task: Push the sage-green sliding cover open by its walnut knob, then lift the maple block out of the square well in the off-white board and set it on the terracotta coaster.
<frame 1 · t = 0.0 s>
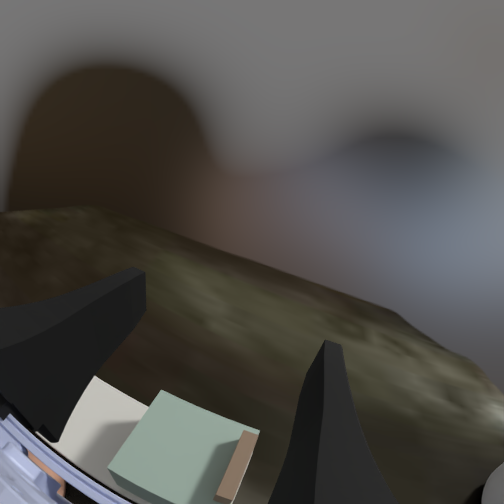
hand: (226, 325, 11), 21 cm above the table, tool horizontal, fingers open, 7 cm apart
coaster: (32, 480, 15), on the table
cover: (186, 459, 20), point 5 cm above the table, slide at 0.0 cm
spread jar: (500, 498, 18), on the table
board: (136, 451, 23), on the table
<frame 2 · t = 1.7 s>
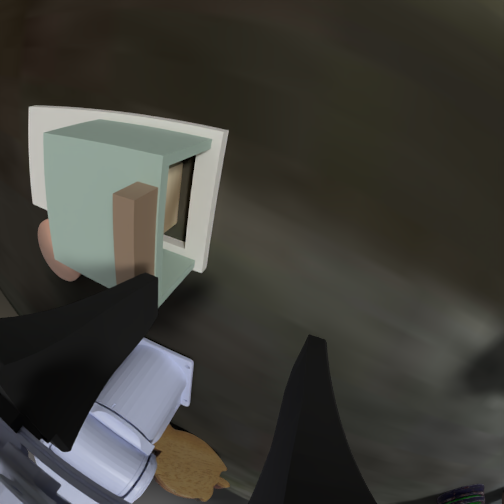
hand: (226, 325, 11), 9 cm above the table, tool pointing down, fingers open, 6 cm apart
coaster: (62, 248, 27), on the table
cover: (110, 209, 17), point 5 cm above the table, slide at 0.0 cm
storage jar: (460, 492, 31), on the table
wooden carving: (195, 437, 39), on the table
block: (153, 186, 21), resting in board
board: (102, 172, 21), on the table
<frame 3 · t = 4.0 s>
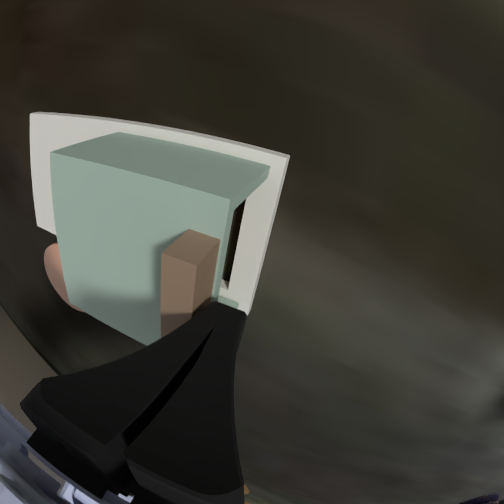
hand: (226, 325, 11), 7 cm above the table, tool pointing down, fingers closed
coaster: (73, 275, 25), on the table
cover: (141, 250, 14), point 5 cm above the table, slide at 0.1 cm, touching gripper
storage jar: (475, 502, 28), on the table
board: (122, 195, 19), on the table
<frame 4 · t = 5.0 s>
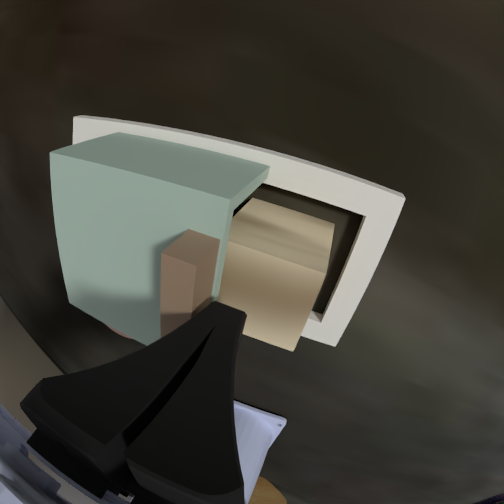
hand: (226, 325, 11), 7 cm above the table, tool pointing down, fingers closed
cover: (141, 250, 14), point 5 cm above the table, slide at 6.0 cm, touching gripper
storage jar: (493, 499, 27), on the table
wooden carving: (255, 475, 35), on the table
block: (283, 246, 17), resting in board
board: (200, 220, 18), on the table
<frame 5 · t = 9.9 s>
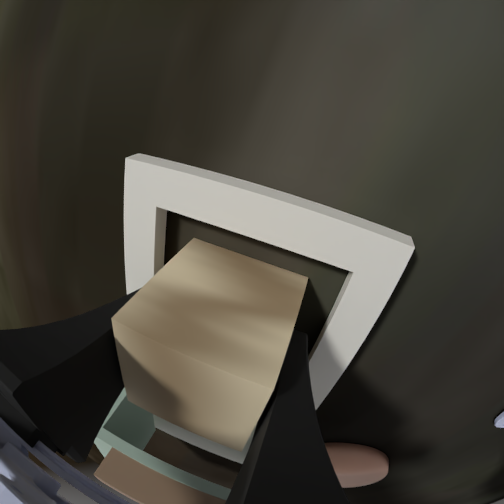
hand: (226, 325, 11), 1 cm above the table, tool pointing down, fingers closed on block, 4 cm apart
coaster: (339, 463, 17), on the table
cover: (183, 472, 14), point 5 cm above the table, slide at 10.4 cm
block: (238, 303, 12), resting in board, touching gripper
board: (222, 373, 15), on the table
when the fingers open (4 cm above the table, at t = 14.2 s): block drops 1 cm, resting on coaster.
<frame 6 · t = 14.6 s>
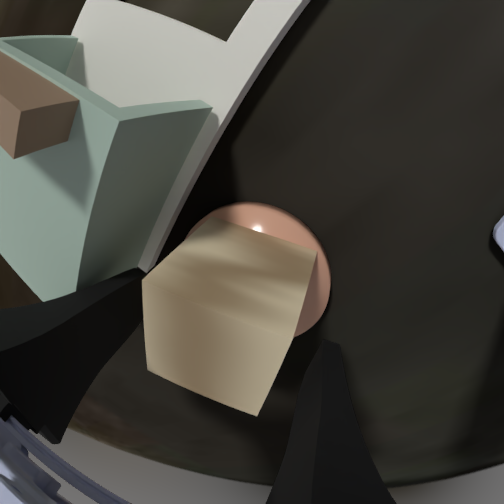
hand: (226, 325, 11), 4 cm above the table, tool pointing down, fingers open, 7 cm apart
coaster: (255, 274, 14), on the table
cover: (39, 169, 10), point 5 cm above the table, slide at 10.4 cm, touching gripper
block: (252, 277, 13), point 1 cm above the table, touching coaster
board: (152, 45, 10), on the table
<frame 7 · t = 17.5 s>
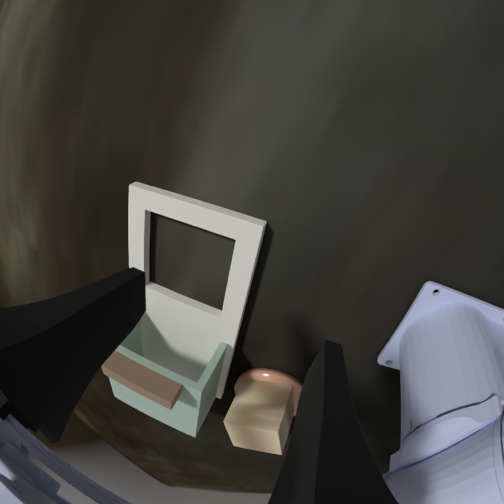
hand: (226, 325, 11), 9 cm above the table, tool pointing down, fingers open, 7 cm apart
coaster: (272, 391, 27), on the table
cover: (158, 382, 24), point 5 cm above the table, slide at 10.4 cm
block: (269, 396, 26), point 1 cm above the table, touching coaster
board: (184, 309, 25), on the table
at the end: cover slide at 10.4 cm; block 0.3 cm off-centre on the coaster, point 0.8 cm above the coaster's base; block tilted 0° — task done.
